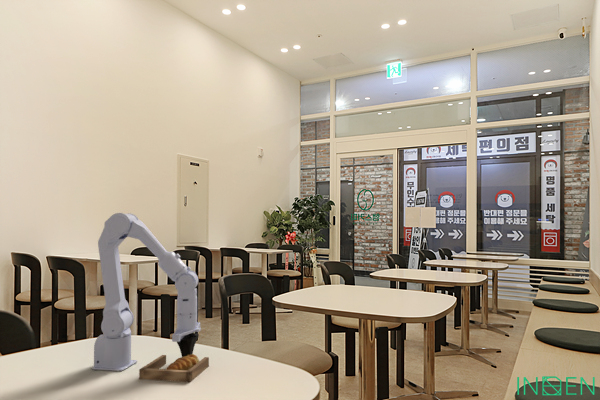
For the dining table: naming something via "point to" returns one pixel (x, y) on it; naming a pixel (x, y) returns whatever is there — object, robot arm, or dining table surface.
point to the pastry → (184, 363)
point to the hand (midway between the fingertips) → (187, 360)
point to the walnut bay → (171, 371)
